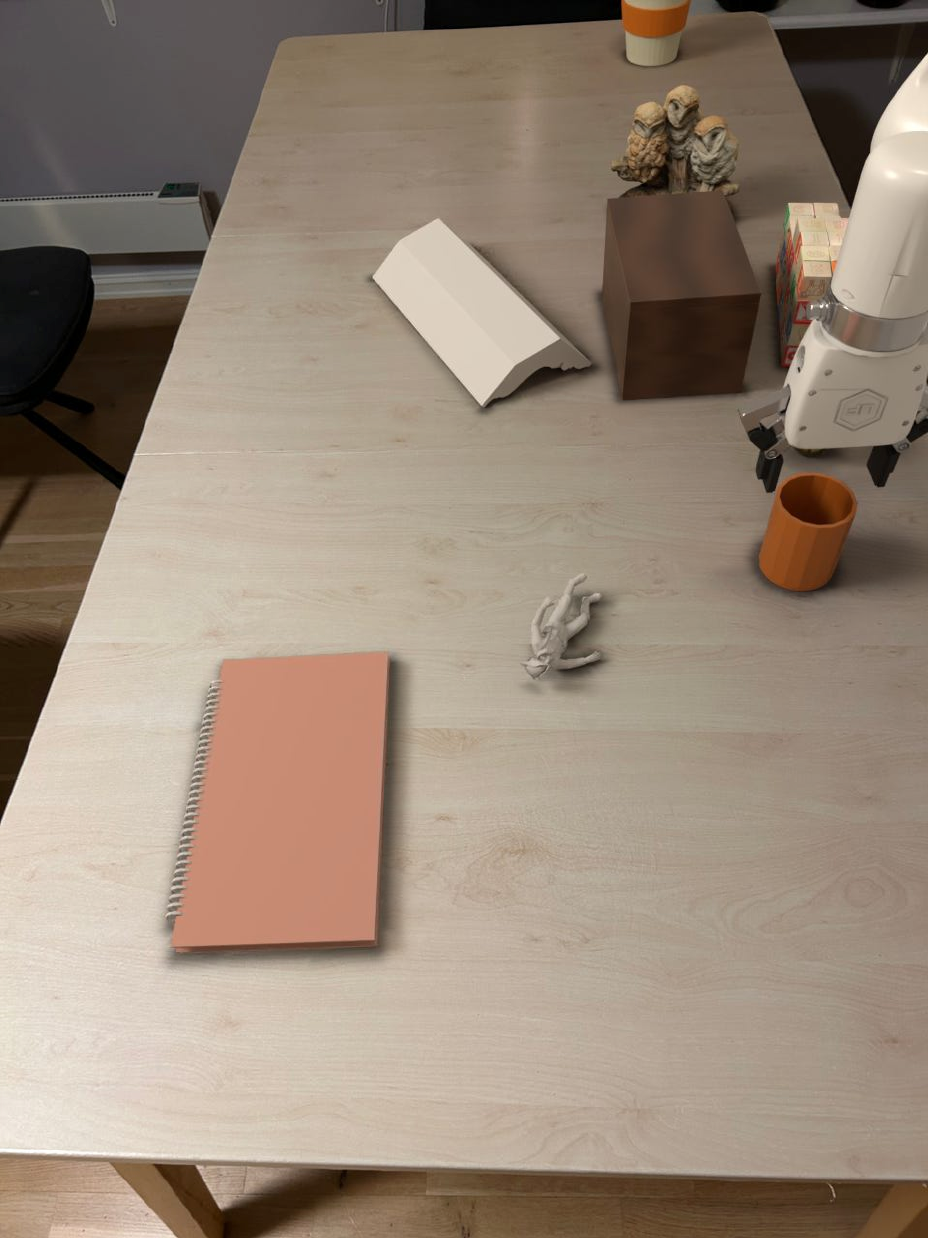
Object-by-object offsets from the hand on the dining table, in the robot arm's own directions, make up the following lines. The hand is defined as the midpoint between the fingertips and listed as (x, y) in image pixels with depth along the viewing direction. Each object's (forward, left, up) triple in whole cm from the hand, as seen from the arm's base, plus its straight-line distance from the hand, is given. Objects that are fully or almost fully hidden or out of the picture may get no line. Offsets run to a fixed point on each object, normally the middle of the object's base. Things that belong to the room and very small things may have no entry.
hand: (820, 479), depth 84 cm
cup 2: (0, 0, -12) cm, 12 cm away
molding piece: (+31, -45, -12) cm, 56 cm away
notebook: (+49, +23, -12) cm, 55 cm away
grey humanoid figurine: (+24, +8, -12) cm, 28 cm away
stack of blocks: (-11, -41, -12) cm, 44 cm away
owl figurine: (+2, -68, -12) cm, 69 cm away
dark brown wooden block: (+7, -38, -12) cm, 41 cm away
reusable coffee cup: (-3, -123, -12) cm, 124 cm away
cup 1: (-6, -17, -12) cm, 21 cm away
